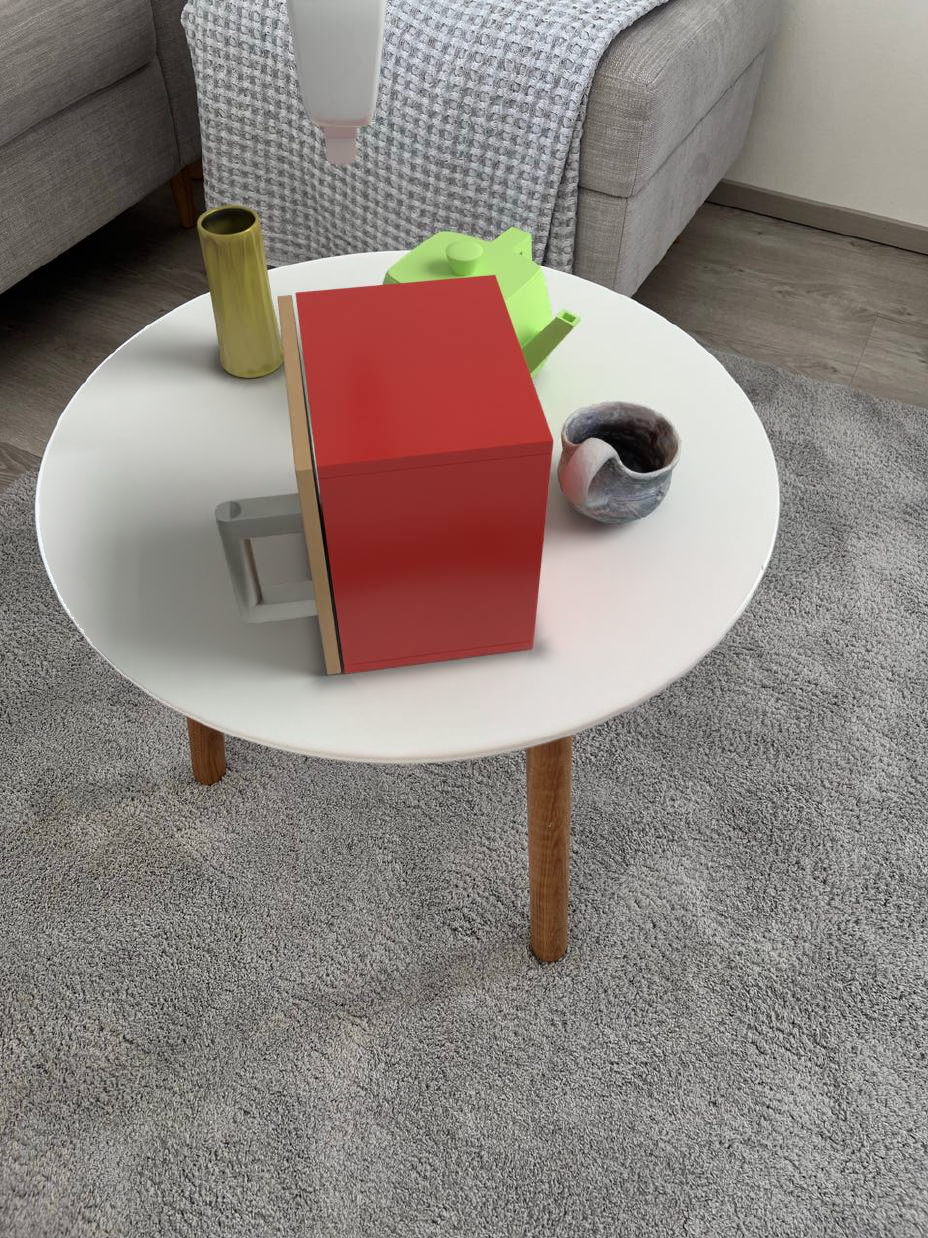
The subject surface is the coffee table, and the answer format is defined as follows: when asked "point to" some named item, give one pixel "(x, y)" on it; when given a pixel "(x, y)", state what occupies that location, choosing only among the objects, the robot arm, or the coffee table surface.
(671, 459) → the mug
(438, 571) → the cabinet
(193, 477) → the coffee table surface
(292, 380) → the door
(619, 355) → the coffee table surface
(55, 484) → the coffee table surface
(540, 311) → the teapot
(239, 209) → the vase
